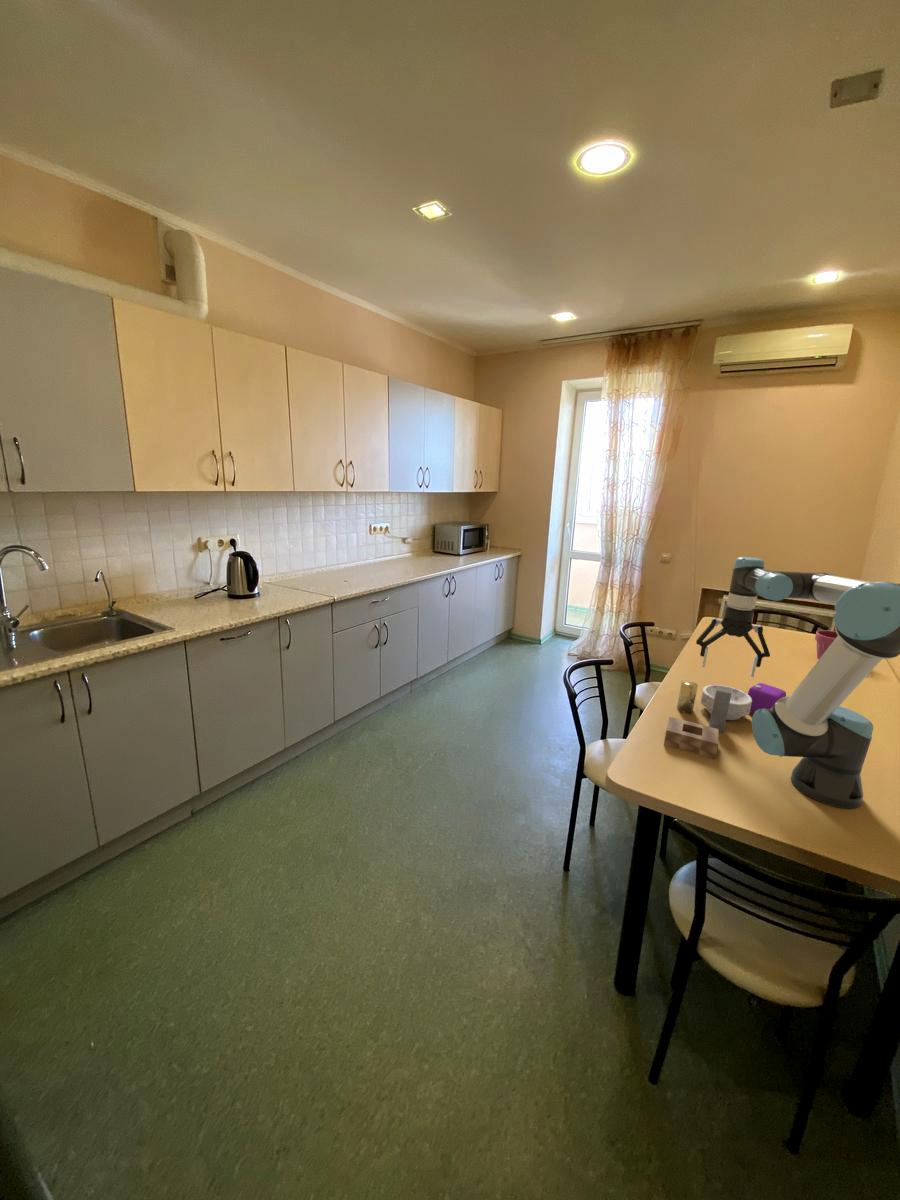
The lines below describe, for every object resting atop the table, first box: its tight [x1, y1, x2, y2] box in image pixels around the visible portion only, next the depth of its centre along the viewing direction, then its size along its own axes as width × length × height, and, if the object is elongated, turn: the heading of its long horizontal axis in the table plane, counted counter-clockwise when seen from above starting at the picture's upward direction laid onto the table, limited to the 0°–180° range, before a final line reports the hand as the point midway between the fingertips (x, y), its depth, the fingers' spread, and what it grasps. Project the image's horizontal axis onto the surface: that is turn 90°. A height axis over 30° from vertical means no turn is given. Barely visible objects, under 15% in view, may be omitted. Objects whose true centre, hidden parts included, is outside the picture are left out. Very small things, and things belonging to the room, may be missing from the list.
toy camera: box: [747, 682, 787, 714], centre depth 168 cm, size 11×14×10 cm
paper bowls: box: [700, 684, 752, 721], centre depth 165 cm, size 15×15×8 cm
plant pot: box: [814, 629, 838, 660], centre depth 222 cm, size 14×14×13 cm
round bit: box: [676, 680, 699, 714], centre depth 167 cm, size 5×5×10 cm
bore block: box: [663, 716, 719, 760], centre depth 145 cm, size 14×10×5 cm
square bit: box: [708, 686, 732, 734], centre depth 154 cm, size 4×4×14 cm
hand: (727, 670), depth 151 cm, fingers open, 13 cm apart
